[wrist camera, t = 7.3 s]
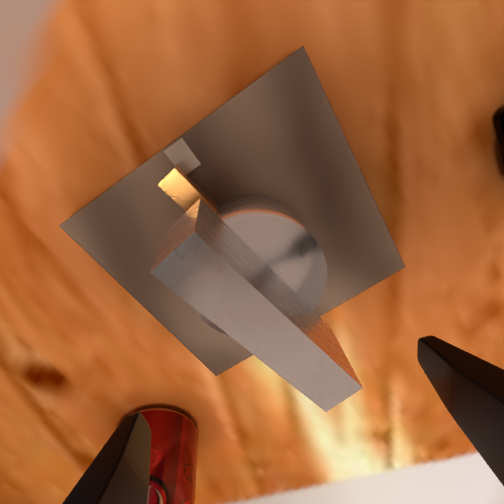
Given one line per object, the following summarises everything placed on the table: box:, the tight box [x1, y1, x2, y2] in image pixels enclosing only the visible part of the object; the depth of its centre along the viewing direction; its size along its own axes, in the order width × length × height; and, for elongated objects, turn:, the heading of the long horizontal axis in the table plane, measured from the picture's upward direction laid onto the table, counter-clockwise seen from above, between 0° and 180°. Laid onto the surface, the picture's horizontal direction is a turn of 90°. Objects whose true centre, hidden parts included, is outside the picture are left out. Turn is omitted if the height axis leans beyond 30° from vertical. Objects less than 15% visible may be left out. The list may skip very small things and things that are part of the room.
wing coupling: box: [150, 165, 363, 412], centre depth 15 cm, size 12×7×8 cm, turn 41°
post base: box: [59, 46, 405, 376], centre depth 19 cm, size 16×15×2 cm
